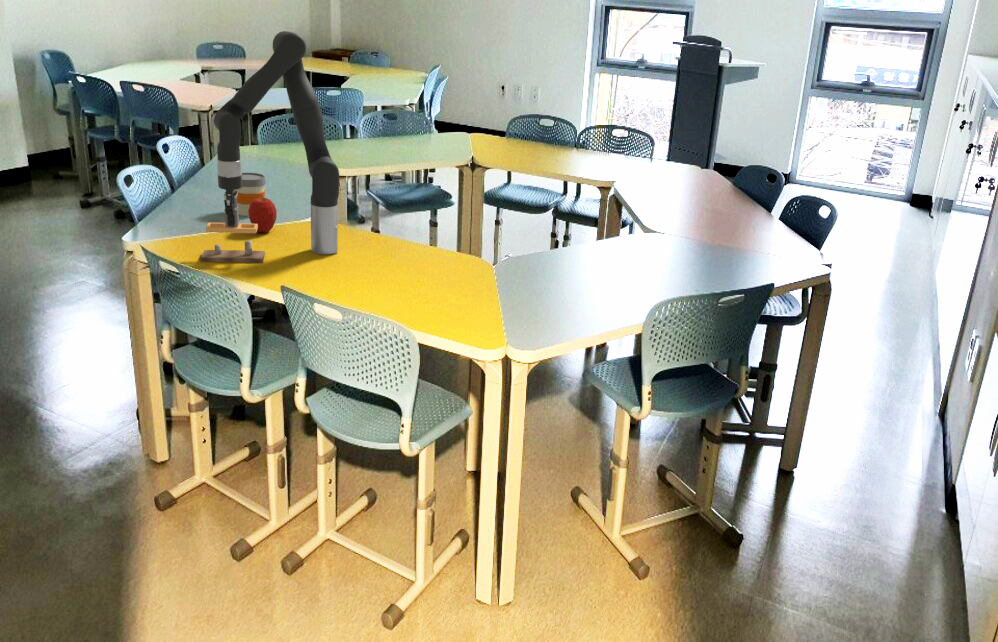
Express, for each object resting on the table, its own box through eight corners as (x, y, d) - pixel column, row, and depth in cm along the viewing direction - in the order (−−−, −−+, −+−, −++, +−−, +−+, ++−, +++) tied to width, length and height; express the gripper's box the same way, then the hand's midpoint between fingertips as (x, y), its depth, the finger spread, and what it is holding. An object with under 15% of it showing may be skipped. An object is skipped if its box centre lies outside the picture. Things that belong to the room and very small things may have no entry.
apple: (246, 228, 320) (244, 192, 314) (273, 226, 324) (272, 191, 319) (252, 236, 311) (251, 199, 306) (280, 234, 316) (279, 198, 311)
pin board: (265, 255, 294) (264, 238, 292) (262, 262, 287) (262, 245, 284) (204, 253, 290) (203, 237, 288) (201, 261, 283) (199, 244, 281)
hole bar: (257, 228, 289) (257, 206, 286) (256, 233, 283) (255, 211, 281) (208, 226, 286) (207, 205, 283) (206, 232, 281) (204, 210, 278)
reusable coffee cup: (258, 207, 346) (256, 171, 341) (272, 215, 338) (271, 178, 332) (228, 211, 339) (226, 174, 333) (242, 219, 330) (240, 181, 324)
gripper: (220, 167, 283) (223, 217, 290) (214, 178, 270) (217, 230, 277) (243, 168, 284) (246, 218, 291) (239, 178, 272) (241, 230, 278)
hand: (232, 223), depth 284 cm, fingers closed on hole bar, 3 cm apart
